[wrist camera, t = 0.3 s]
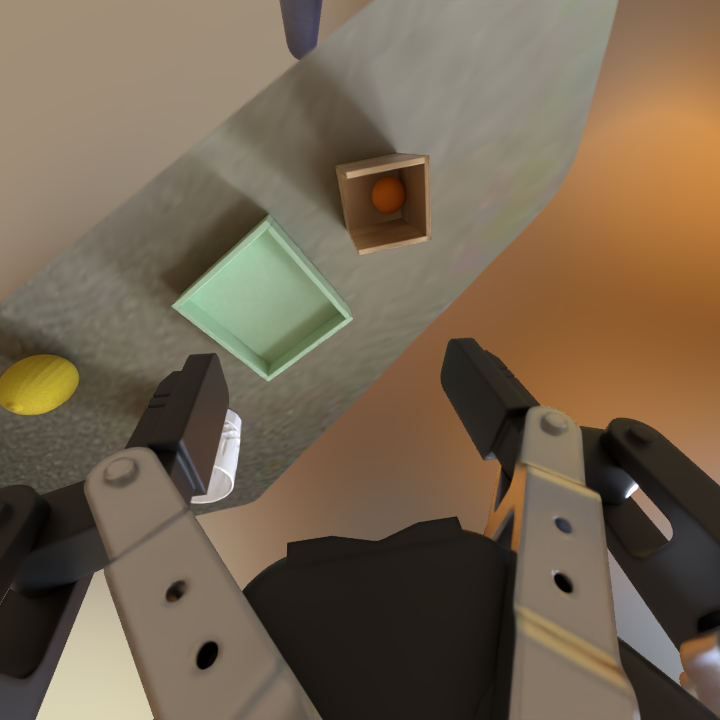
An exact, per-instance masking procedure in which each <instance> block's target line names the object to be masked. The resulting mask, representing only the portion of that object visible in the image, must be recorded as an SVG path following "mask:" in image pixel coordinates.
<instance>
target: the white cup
mask: <svg viewBox="0 0 720 720" xmlns="http://www.w3.org/2000/svg"><path fill="white" fill-rule="evenodd" d="M240 433H241V419H240V418H239V417H238V415H237V414H236V413H235V412H233V411H231V410H230V409H228V410H227V414H226V418H225V422H224V426H223V430H222V434H221V438H220V442H219V446H218V451H217V455H216V459H215V463H214V467H213V471H212V475H211V479H210V483H209V487H208V491H207V495H202V496H194V497H192V499H191V503H209V502H214V501H217V500H220V499H222V498H224V497H226V496H227V495H228V494H229V493H230V492H231V491H232V489H233V486H234V479H235V473H236V466H237V460H238V452H239V445H240Z"/></svg>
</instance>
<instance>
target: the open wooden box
mask: <svg viewBox="0 0 720 720" xmlns="http://www.w3.org/2000/svg"><path fill="white" fill-rule="evenodd" d="M336 172H337V178H338V184H339V189H340V195H341V201H342V206H343V212H344V218H345V224H346V230H347V232H348V234H349V236H350V238H351V240H352V242H353V244H354V246H355V248H356V250H357V252H358V254H359V255H361V254H366V253H371V252H376V251H380V250H385V249H390V248H395V247H400V246H404V245H409V244H414V243H419V242H424V241H428V240H431V214H430V166H429V156H428V155H416V154H403V153H395V154H390V155H385V156H380V157H375V158H370V159H365V160H360V161H355V162H350V163H345V164H340V165H336ZM388 176H391V177H395V178H397V179H398V180H400V181H401V183H402V184H403V186H404V189H405V200H404V203H403V205H402V206H401V208H400V209H399V210H397V211H396V212H394V213H391V214H385V213H382V212H380V211H379V210H378V209H377V208H376V207H375V205H374V203H373V199H372V192H373V189H374V186H375V185H376V183H377V182H378V181H379V180H380V179H382V178H384V177H388Z"/></svg>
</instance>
